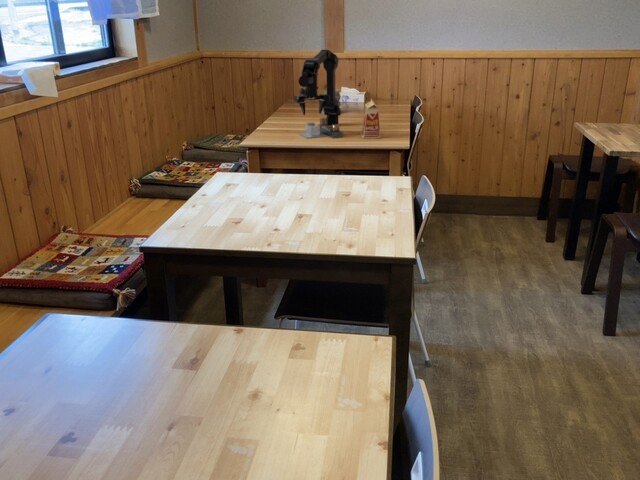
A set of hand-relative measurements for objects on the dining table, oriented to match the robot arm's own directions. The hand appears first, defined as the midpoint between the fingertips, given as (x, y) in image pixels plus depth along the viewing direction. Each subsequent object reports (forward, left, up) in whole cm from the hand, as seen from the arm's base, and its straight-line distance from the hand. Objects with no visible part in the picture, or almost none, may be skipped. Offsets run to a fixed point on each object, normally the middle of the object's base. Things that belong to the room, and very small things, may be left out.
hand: (312, 114), depth 311 cm
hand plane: (-10, 0, -11) cm, 15 cm away
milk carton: (-27, +17, -12) cm, 34 cm away
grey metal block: (0, 0, -11) cm, 11 cm away
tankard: (-39, -59, -12) cm, 72 cm away
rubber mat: (0, 0, -11) cm, 11 cm away
